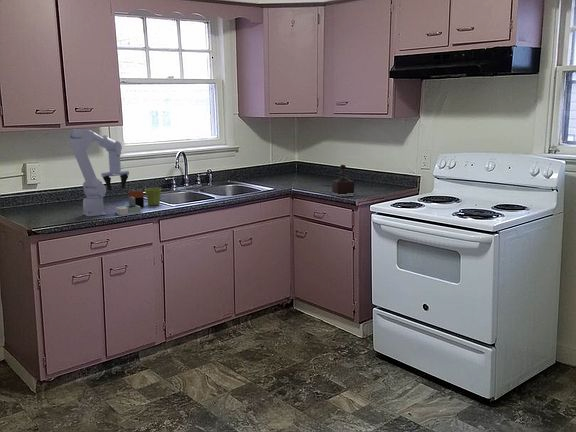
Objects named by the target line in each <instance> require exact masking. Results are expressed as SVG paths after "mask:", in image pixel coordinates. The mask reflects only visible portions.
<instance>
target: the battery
mask: <svg viewBox="0 0 576 432" xmlns="http://www.w3.org/2000/svg"><path fill="white" fill-rule="evenodd" d="M130 197H135V205H137V206H140V207H141V208H142V209H143V208H144V207H145V204H144V203H145V201H144V190H142V189H141V188H137V189H135V188H132V189H130V190H129V191H128V199H129V198H130Z"/></svg>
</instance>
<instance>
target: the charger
mask: <svg viewBox="0 0 576 432" xmlns="http://www.w3.org/2000/svg"><path fill="white" fill-rule="evenodd" d="M114 213H115V214H117V215H119V216H125V215H126V216H127V215H136V214H143V211H142V209H141V207H140V206H137V205H135V207H131V208H129V205H123V206H115V211H114Z"/></svg>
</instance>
